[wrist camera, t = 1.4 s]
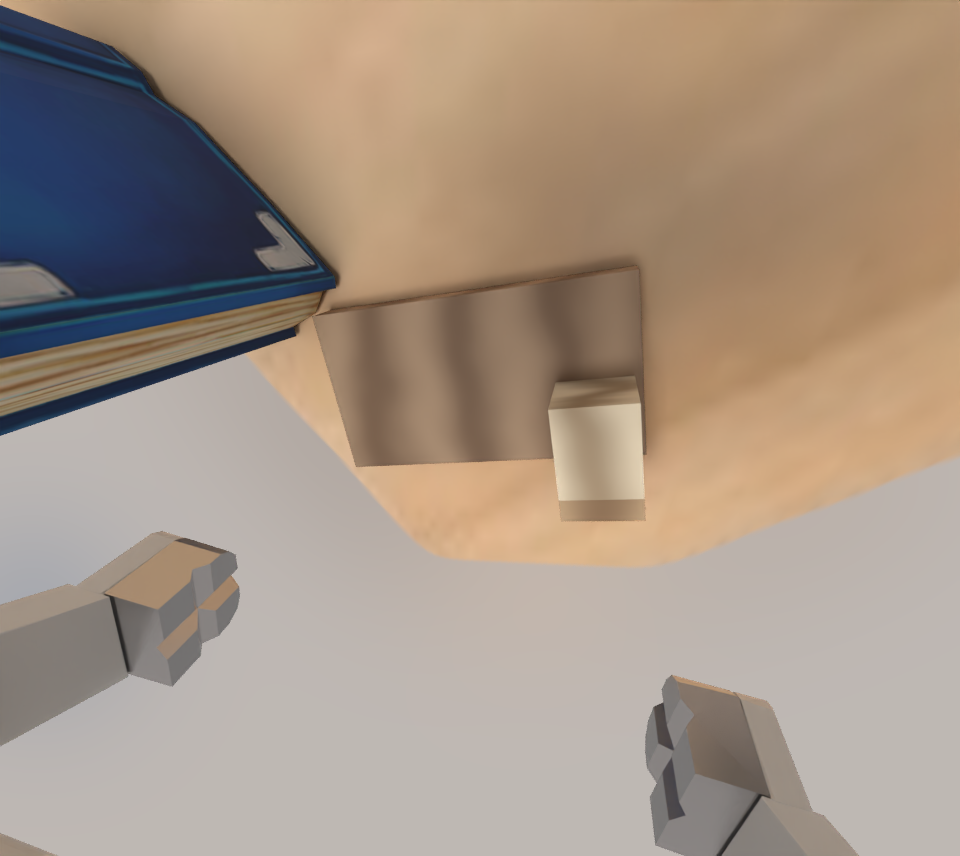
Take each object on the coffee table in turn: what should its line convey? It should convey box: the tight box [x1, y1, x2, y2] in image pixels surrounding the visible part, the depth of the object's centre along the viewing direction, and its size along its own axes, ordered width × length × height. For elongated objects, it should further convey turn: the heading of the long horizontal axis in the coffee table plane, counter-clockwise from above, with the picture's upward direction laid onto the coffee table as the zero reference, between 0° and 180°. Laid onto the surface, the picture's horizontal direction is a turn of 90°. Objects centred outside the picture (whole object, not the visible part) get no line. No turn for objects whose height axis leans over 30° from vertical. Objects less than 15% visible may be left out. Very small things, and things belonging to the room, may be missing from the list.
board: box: [312, 265, 646, 467], centre depth 34 cm, size 22×12×2 cm, turn 100°
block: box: [548, 376, 645, 521], centre depth 31 cm, size 5×8×7 cm, turn 10°
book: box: [0, 6, 336, 436], centre depth 23 cm, size 22×7×25 cm, turn 44°
